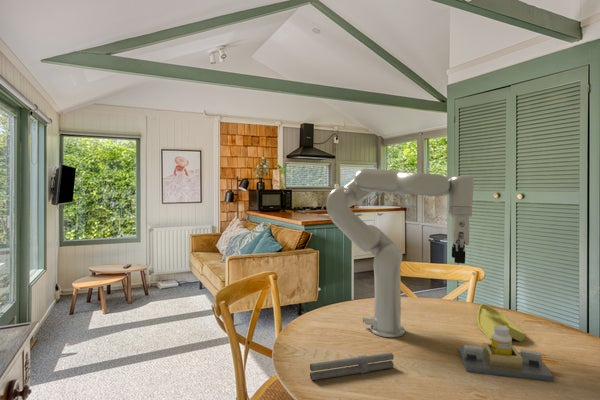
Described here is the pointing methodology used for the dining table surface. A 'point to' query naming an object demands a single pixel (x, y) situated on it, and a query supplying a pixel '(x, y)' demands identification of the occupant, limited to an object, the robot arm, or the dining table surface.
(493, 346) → the supplement bottle
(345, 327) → the dining table surface
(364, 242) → the robot arm
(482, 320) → the plastic component
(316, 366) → the metal rod assembly
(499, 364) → the stand
